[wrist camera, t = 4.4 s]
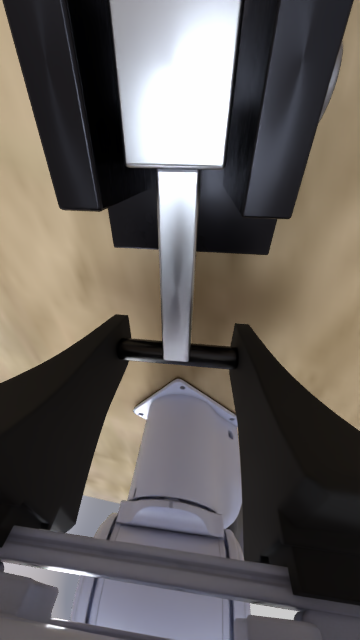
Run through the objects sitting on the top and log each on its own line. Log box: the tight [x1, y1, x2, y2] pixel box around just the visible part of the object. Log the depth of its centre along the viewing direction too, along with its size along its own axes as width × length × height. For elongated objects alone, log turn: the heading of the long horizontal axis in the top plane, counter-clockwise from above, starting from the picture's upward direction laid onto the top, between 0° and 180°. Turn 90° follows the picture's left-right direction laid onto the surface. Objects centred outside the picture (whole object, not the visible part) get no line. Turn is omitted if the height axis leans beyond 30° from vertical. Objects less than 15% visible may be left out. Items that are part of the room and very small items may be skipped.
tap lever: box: [107, 0, 245, 370], centre depth 7 cm, size 10×5×2 cm, turn 179°
